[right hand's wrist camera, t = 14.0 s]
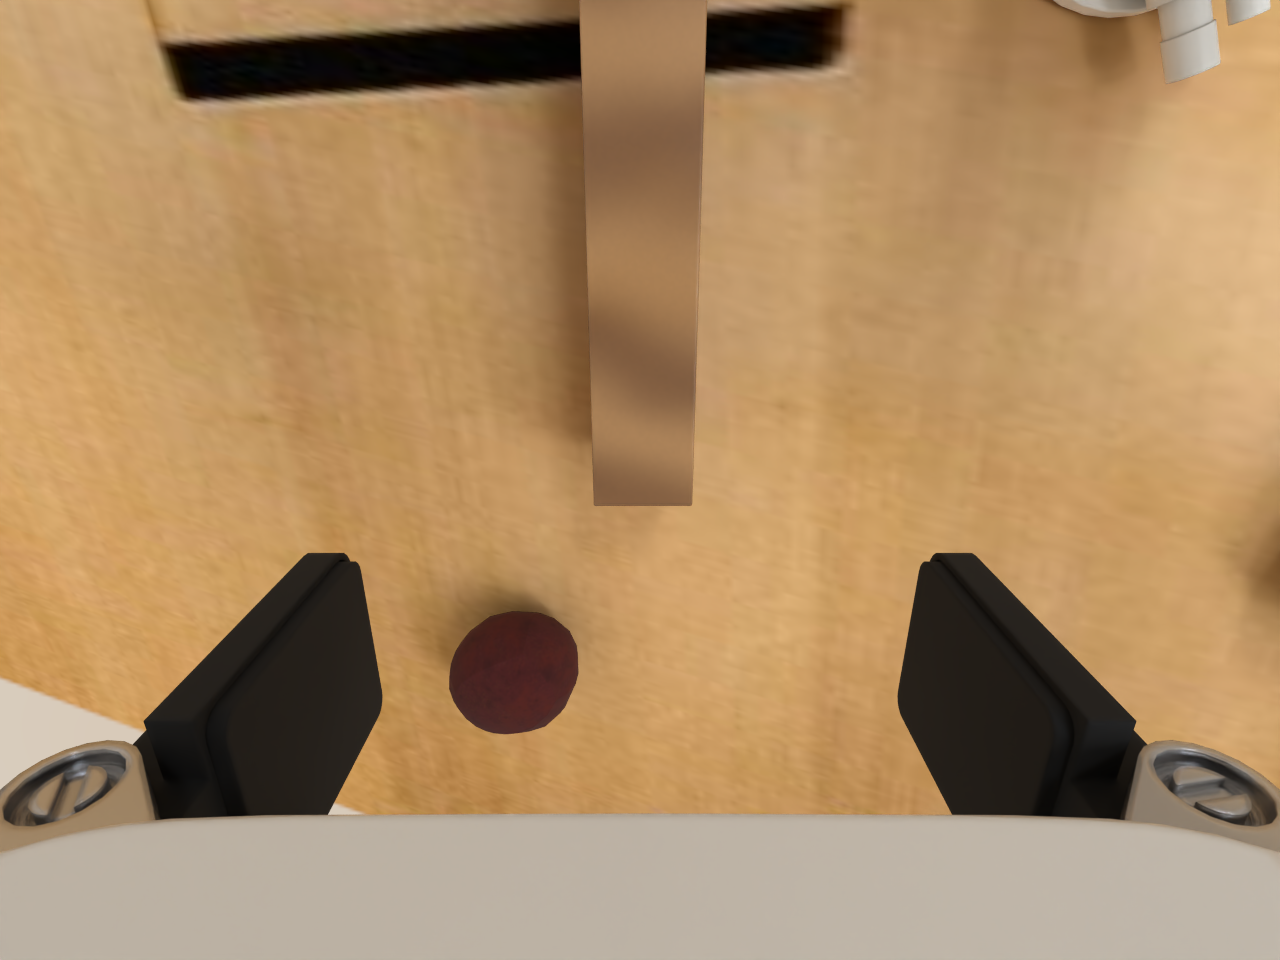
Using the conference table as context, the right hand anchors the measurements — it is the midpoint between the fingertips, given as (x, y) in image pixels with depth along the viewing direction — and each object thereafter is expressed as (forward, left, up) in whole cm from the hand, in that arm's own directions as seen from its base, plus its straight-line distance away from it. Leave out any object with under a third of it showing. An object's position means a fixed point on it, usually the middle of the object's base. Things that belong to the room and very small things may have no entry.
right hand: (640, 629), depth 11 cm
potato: (-15, +15, -28) cm, 34 cm away
